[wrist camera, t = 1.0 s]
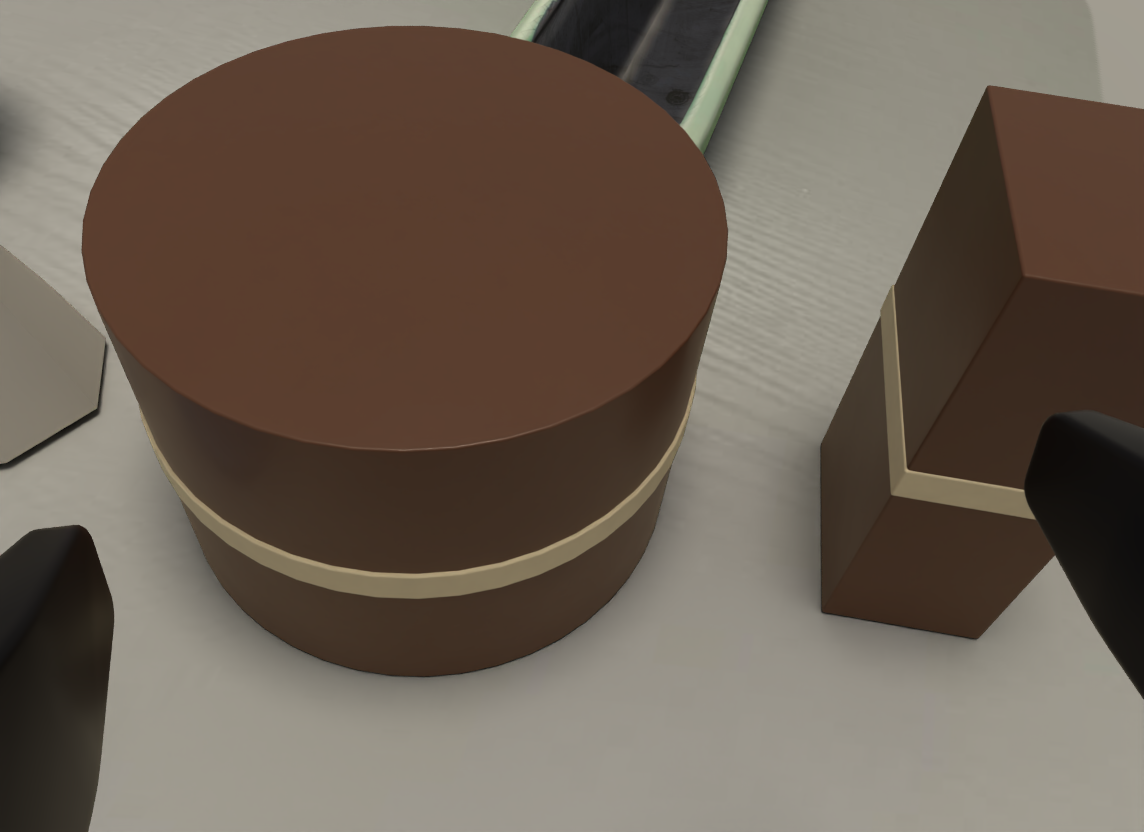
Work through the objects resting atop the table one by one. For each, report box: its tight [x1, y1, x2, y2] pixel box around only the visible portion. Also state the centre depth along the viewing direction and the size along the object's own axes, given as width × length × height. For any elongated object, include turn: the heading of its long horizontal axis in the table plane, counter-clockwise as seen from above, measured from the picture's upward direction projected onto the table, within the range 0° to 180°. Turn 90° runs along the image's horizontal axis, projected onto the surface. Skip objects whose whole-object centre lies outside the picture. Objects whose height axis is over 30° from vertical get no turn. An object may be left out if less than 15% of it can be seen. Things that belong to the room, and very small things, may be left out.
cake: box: [82, 26, 728, 676], centre depth 26 cm, size 14×14×10 cm
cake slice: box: [821, 85, 1144, 639], centre depth 24 cm, size 6×4×13 cm
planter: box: [510, 0, 768, 155], centre depth 40 cm, size 28×7×7 cm, turn 161°
